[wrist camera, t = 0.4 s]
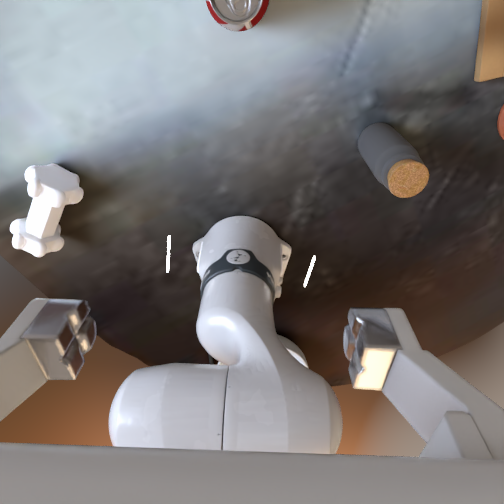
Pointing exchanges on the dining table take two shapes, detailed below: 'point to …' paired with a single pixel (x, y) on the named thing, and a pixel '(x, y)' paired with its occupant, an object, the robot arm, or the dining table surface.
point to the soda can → (237, 13)
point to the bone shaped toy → (45, 208)
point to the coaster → (501, 122)
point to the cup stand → (490, 41)
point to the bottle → (393, 160)
